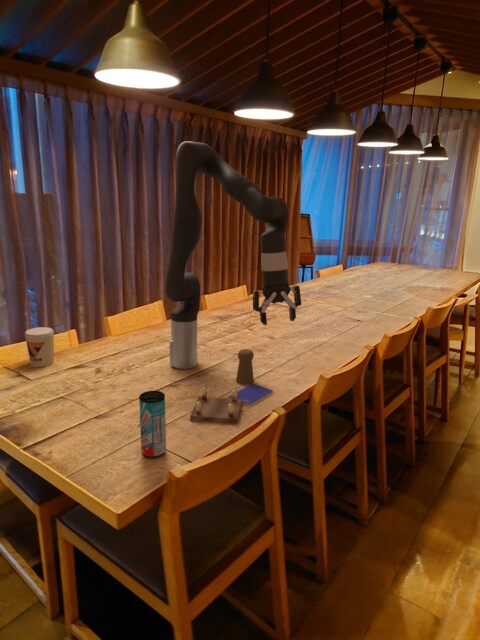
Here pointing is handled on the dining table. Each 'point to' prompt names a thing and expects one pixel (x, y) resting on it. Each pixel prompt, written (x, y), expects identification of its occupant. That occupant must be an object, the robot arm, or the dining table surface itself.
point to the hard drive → (252, 394)
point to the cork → (245, 367)
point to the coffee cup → (40, 346)
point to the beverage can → (152, 424)
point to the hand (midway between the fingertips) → (278, 322)
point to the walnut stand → (216, 408)
